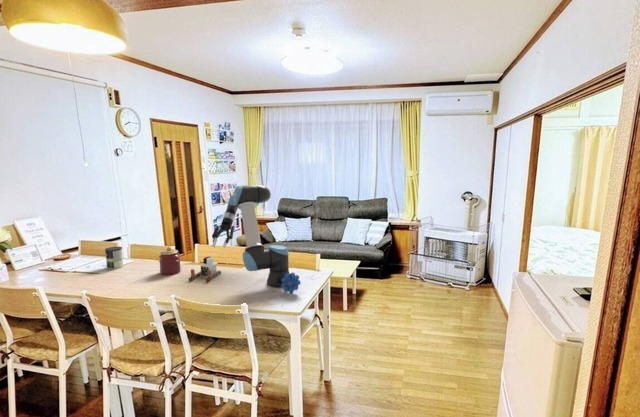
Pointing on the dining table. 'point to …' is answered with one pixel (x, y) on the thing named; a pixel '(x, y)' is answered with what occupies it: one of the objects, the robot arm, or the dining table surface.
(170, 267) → the canister
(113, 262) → the coffee can
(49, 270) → the dining table surface
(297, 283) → the grapes
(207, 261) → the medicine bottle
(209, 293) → the dining table surface
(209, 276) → the guide channel
